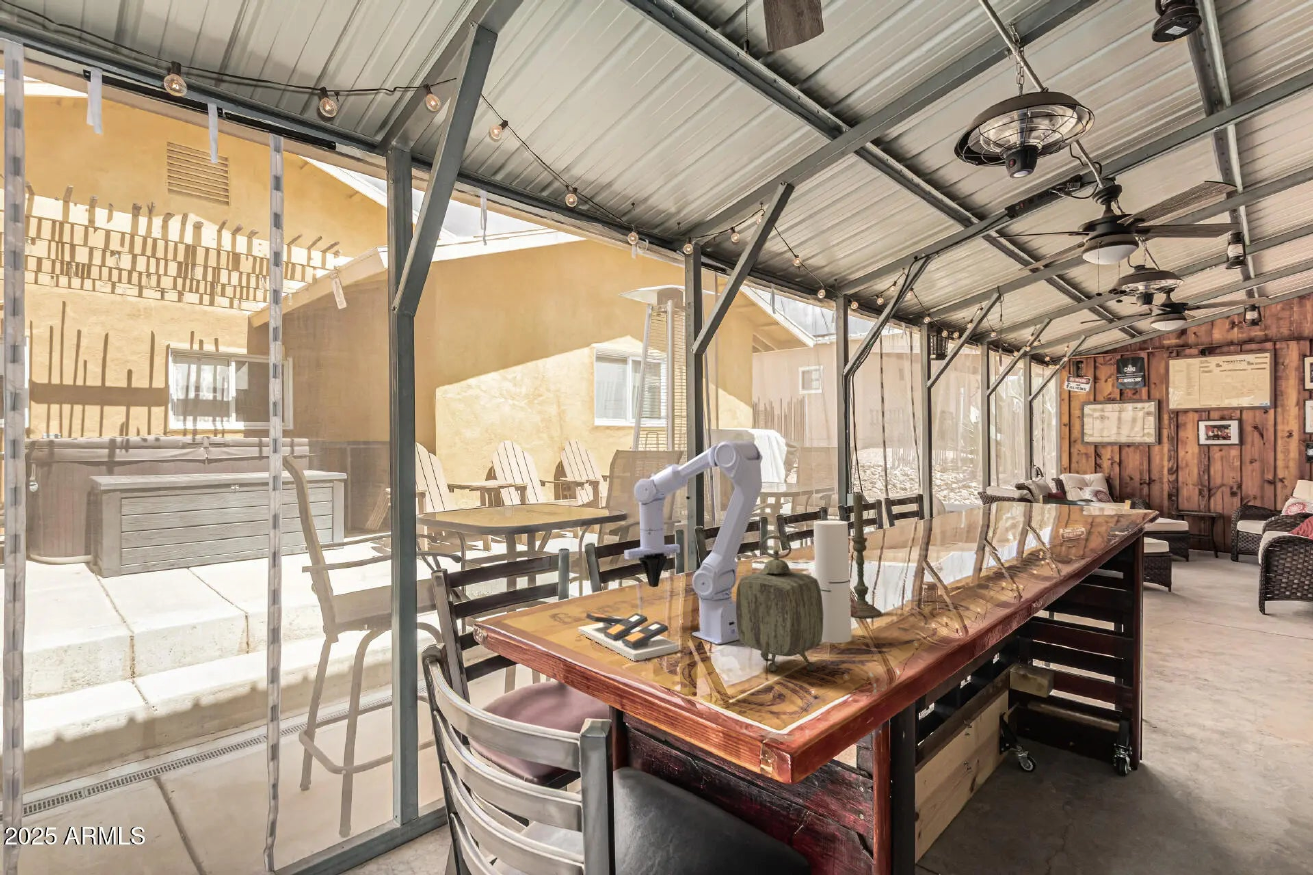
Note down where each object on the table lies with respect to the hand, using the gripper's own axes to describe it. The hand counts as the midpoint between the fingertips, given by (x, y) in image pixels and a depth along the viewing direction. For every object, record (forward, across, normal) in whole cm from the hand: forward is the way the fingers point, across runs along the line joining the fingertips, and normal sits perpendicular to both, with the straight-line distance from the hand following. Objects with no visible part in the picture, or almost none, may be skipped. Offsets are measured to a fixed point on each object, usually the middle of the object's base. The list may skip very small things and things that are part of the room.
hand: (653, 586), depth 156 cm
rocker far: (+6, +12, -1) cm, 13 cm away
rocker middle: (+6, +12, +7) cm, 15 cm away
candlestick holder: (+10, -46, +23) cm, 52 cm away
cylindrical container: (+10, -25, +33) cm, 42 cm away
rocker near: (+6, +12, +15) cm, 20 cm away
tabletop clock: (+10, -2, +40) cm, 41 cm away
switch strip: (+9, +12, +7) cm, 17 cm away
